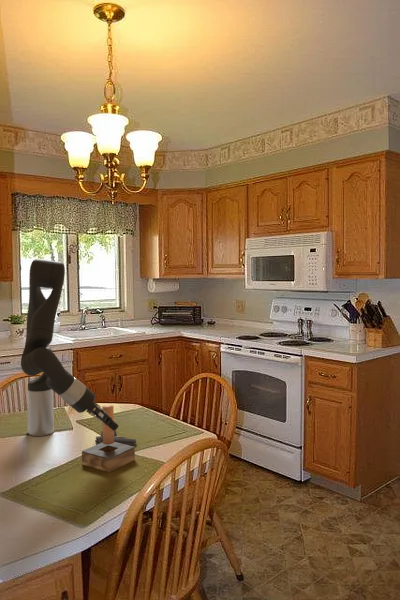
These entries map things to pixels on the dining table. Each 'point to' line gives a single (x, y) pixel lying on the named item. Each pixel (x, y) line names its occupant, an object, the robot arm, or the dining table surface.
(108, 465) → the socket
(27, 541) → the dining table surface
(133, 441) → the pistol
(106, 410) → the peg
